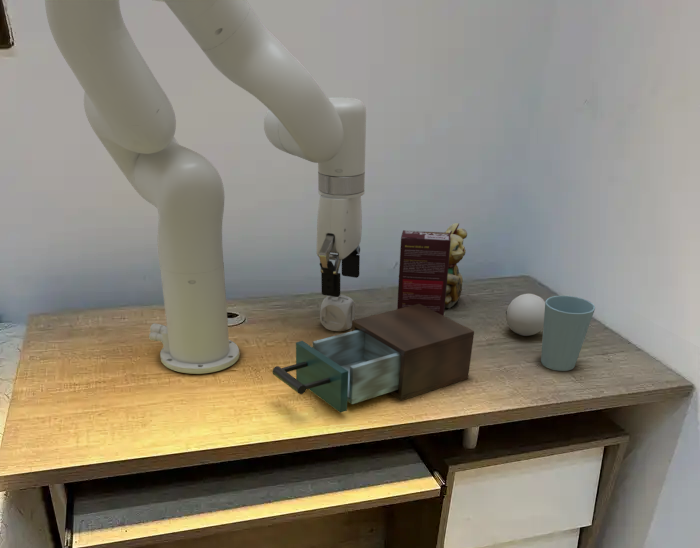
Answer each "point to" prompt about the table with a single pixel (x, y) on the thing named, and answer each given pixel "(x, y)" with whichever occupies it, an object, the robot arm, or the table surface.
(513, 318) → the white ball
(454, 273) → the decorative figurine
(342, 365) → the teal pull-out drawer
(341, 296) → the die
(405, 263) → the supplement box
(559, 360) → the cup
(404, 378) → the cabinet
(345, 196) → the robot arm
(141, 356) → the table surface
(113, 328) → the table surface
